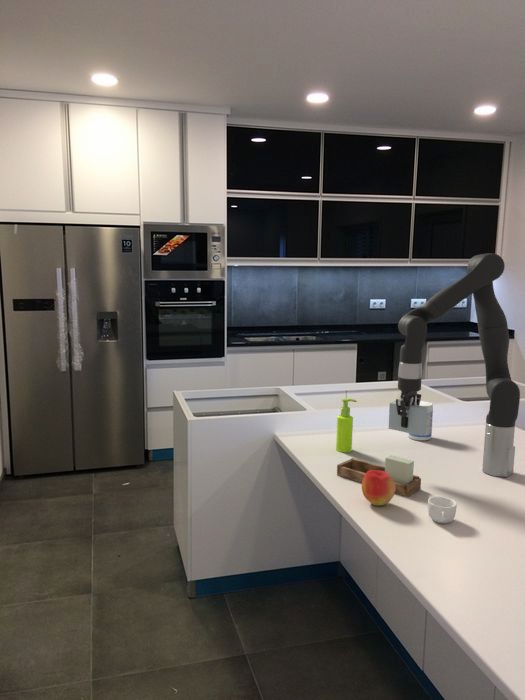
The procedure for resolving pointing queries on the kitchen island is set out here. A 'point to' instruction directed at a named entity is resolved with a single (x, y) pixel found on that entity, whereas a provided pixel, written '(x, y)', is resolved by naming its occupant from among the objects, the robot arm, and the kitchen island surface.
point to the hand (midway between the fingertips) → (407, 425)
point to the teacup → (441, 509)
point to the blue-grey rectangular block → (409, 419)
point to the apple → (378, 487)
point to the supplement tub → (429, 423)
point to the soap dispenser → (344, 428)
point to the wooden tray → (359, 468)
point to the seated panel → (399, 469)
